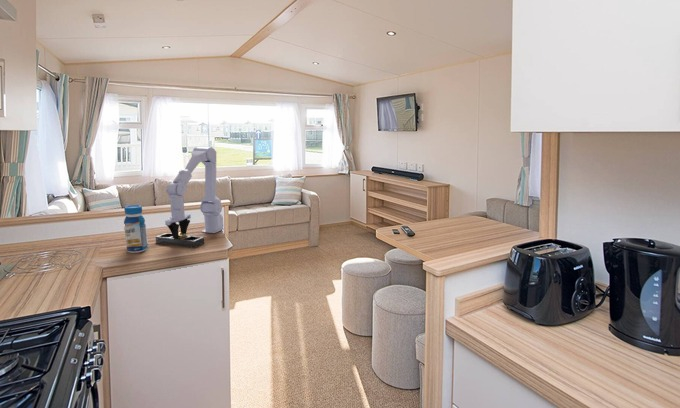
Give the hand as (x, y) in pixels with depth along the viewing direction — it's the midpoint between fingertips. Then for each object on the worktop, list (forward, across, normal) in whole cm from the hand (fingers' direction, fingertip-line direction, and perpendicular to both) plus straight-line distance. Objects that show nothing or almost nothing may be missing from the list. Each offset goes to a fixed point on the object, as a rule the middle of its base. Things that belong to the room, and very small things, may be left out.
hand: (179, 236), depth 183 cm
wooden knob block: (+3, 0, 0) cm, 3 cm away
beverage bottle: (+3, +15, -10) cm, 19 cm away
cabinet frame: (+3, 0, 0) cm, 3 cm away
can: (+3, +9, -15) cm, 18 cm away
